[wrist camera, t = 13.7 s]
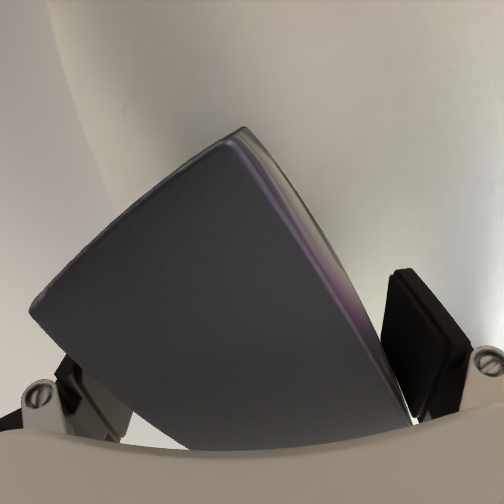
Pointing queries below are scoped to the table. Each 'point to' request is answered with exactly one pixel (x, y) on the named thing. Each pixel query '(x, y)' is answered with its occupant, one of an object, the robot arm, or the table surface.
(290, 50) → the table surface
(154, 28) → the table surface
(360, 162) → the table surface
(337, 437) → the small box
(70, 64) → the table surface
